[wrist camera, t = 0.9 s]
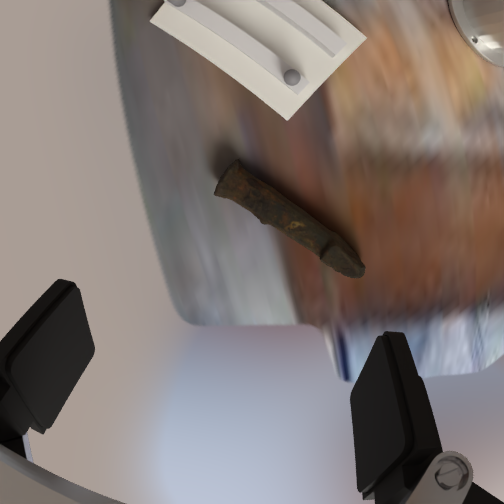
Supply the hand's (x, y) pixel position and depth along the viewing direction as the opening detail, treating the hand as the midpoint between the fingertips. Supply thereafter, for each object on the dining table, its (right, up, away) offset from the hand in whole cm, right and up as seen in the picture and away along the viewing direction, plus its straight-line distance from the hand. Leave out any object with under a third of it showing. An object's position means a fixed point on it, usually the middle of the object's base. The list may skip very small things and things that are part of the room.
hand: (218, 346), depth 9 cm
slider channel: (+1, +25, +17) cm, 31 cm away
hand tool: (+6, +7, +26) cm, 28 cm away
